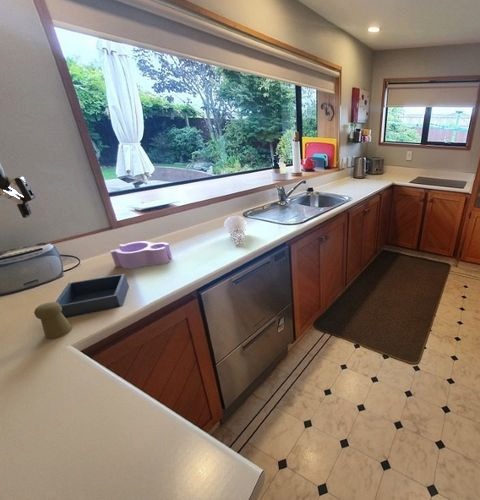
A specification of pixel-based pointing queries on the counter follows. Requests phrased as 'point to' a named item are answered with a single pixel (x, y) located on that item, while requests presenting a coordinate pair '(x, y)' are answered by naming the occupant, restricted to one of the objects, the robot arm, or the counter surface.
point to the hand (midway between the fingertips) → (4, 218)
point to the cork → (52, 320)
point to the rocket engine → (236, 228)
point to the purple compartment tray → (141, 254)
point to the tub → (93, 295)
